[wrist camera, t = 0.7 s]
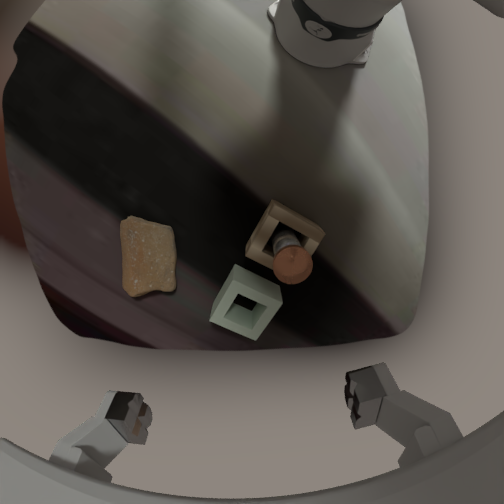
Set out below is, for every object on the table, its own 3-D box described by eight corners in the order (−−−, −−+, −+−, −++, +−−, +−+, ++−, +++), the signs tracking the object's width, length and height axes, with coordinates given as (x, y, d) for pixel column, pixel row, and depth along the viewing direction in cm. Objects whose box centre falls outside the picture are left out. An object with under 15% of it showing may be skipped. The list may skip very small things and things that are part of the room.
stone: (124, 286, 50) (118, 294, 47) (123, 211, 45) (116, 216, 42) (175, 297, 51) (171, 305, 48) (181, 219, 45) (176, 224, 42)
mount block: (272, 198, 44) (274, 204, 39) (318, 224, 45) (325, 233, 41) (245, 244, 47) (245, 255, 42) (291, 267, 48) (295, 280, 43)
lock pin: (276, 215, 45) (286, 240, 33) (302, 229, 46) (320, 258, 33) (262, 240, 46) (265, 273, 34) (287, 253, 47) (299, 290, 35)
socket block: (235, 264, 48) (233, 279, 42) (279, 285, 49) (282, 302, 44) (213, 302, 51) (209, 320, 45) (255, 321, 52) (255, 340, 47)
